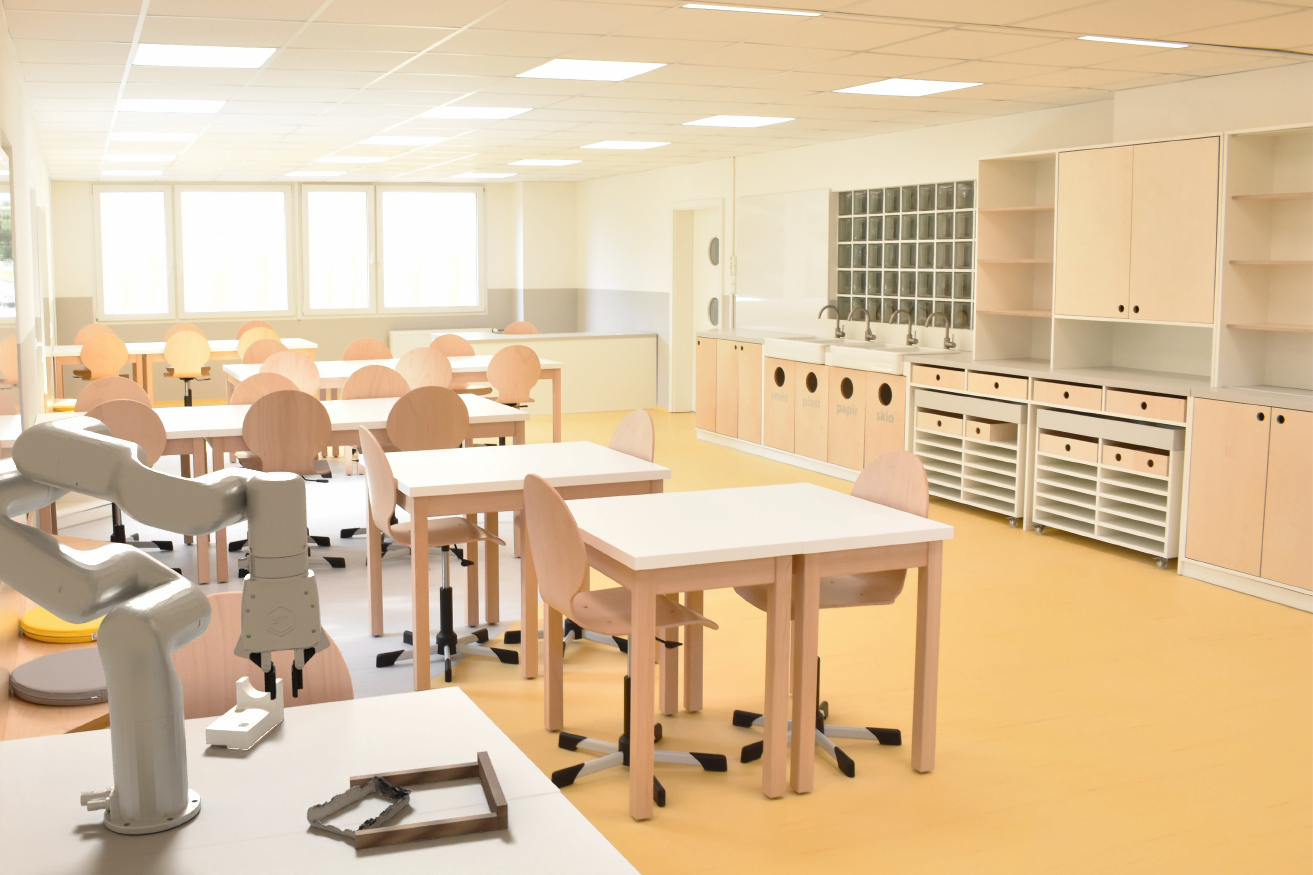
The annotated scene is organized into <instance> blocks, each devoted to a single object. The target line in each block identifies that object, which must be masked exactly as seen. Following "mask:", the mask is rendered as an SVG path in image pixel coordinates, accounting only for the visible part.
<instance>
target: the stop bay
mask: <svg viewBox="0 0 1313 875" xmlns="http://www.w3.org/2000/svg"><path fill="white" fill-rule="evenodd" d="M476 753H477V755H476V756H477V757H476V760H477V761H471V762H464V763H463V762H462V763H454V764H453V763H452V764H446V765H445V764H444V765H438V766H429V767H421V768H412V769H405V770H404V769H403V770H394V771H388V772H387V771H385V772H379V773H369V774H364V775H363V774H362V775H361V774H360V775H353V776H349V789H350V788H351V787H353V786H360V788H364V787H365V786H366V785H367V782H368V781H369V782H370V781H371V780H372V779H373V777H374V776H379V777H383V778H384V779H385V780H386V781H388V782H389V784H390V785H396V786H400V787H402V788H404V787H410V786H417V785H418V786H419V785H425V784H426V785H427V784H434V783H441V782H449V781H450V782H451V781H457V780H467V779H475V778H478V779H479V782H480V785H481V788H482V790H483V793H484V796H485V799H486V802H487V805H488V807H489V811H490V812H488V813H482V814H481V813H480V814H474V815H467V816H465V815H464V816H459V817H458V816H457V817H453V818H443V819H436V820H435V819H434V820H429V821H428V820H427V821H422V822H421V821H420V822H413V823H405V824H398V825H392V826H391V825H390V826H384V827H376V828H374V829H367V830H359V831H357V830H354V831H355V839H354V842H355V843H354V845H355V850H360V849H368V848H376V847H382V846H383V847H384V846H389V845H397V844H405V843H410V842H412V841H413V842H419V841H427V840H433V839H432V838H434V839H440V837H442V838H447V837H454V836H455V837H456V836H463V835H470V834H476V833H483V832H484V833H485V832H493V831H499V830H505V829H506V830H507V829H508V828H509V808H508V807H509V805H508V802H507V799H506V797H505V794H504V792H503V789H502V786H501V783H500V781H499V778H498V776H497V774H496V770H495V769H494V766H493V765H494V764H493V763H492V761H491V758H490V755H489V752H488V751H487V750H485V751H484V750H483V751H477V752H476Z"/></svg>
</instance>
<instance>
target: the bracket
mask: <svg viewBox="0 0 1313 875" xmlns="http://www.w3.org/2000/svg"><path fill="white" fill-rule="evenodd" d="M283 682H284V680H283V678H277V677H276V699H275V700H271V699H270V692H266V693H265V691H259V690H257V689H255V687H254V686H252V684H251V682H250V678H249V676H242V677H240V678H239V679H238V680H237V681H236V682H235V689H236V690H235V691H236V692H235V694H236V705H235V706H233V707H231V709H229V710H228V711H227V712H225V713H224V714H223V715H221V716H220V717H218V718H217V719H216V720H215V721H214V722H212V723H211V724H210V725H209V726H207V727H206V728H205V744H206V745H215V746H226V749H227V748H239V749H248V748H249V747H250V746H252V745H253V744H254V743H255V742H256V741H257V740H258V739H259V738H260V737H261V736H263V735H264V734H265V733H266V732H267V731H269V730H270V729H271V728H272V727H274V726H275V725H276V724H278V723H279V722H280V721H281V720H283V719H284V720H285V708H284V707H285V706H284V686H283V685H284V683H283ZM284 720H283V721H284ZM279 724H280V723H279ZM279 724H278V725H279Z"/></svg>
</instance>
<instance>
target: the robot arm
mask: <svg viewBox="0 0 1313 875" xmlns="http://www.w3.org/2000/svg"><path fill="white" fill-rule="evenodd" d="M148 460H149V459H148V455H147V453H146V451H145V449H144V448H143V447H142V446H141V445H140V444H138V443H136V442H134V441H133V442H132V441H129V440H124V439H122V438H117V437H115V435H114V433H113V431H112V430H111V429H110V428H109V427H108V425H106V424H105V423H104V422H103V421H101V420H99V419H97V418H94V417H92V416H91V417H90V416H82V415H79V416H72V417H66V418H61V419H60V418H59V419H55V420H50V421H49V420H48V421H45V422H44V421H43V422H40V423H38V424H34V425H32V426H30V427H29V428H28V427H27V429H25V430H24V431H23V432H21V433H20V434H19V435H18V436H17V438H16V439H15V441H14V443H13V445H12V450H11V456H8V457H4V458H0V581H1V582H3V583H5V584H6V585H8V586H10V587H11V588H12V589H13V590H14V591H16V592H18V593H19V594H21V595H22V596H24V597H26V598H27V599H29V600H30V601H32V602H33V603H35V604H37V605H38V606H39V607H41V608H43V609H44V610H45V611H47V612H49V613H50V614H52V615H53V616H55V617H56V618H58V619H60V620H61V621H64V622H66V623H69V624H74V625H81V624H87V623H89V622H93V621H95V620H97V619H99V618H102V617H103V619H102V620H101V622H100V624H99V626H98V629H97V635H96V644H97V651H98V652H97V653H98V654H99V659H100V661H101V665H102V669H103V672H104V677H105V682H106V689H107V700H108V714H109V715H108V716H109V726H110V728H109V729H110V742H111V743H110V744H111V745H110V746H111V758H112V774H113V785H112V786H107V787H106V788H105V790H90V791H89V790H88V791H82V792H80V793H81V794H80V806H81V807H86V810H87V811H86V812H95V811H99V810H105V811H104V813H103V823H104V826H105V827H106V828H107V829H108V830H110V831H112V832H115V833H119V834H125V835H143V834H144V835H147V834H153V833H160V832H162V831H166V830H170V829H172V828H175V827H178V826H180V825H182V824H185V823H186V822H188V821H190V820H191V819H192V818H193V817H195V816H196V815H198V812H200V810H201V808H202V807H201V806H202V803H201V802H202V799H201V796H200V794H199V793H198V792H196V791H195V790H193V789H190V788H189V781H188V779H189V778H188V776H189V775H188V761H187V758H188V757H187V742H186V741H187V740H186V724H185V723H186V722H185V720H186V719H185V705H184V704H185V703H184V690H183V684H182V680H181V678H180V676H179V675H180V674H179V673H178V671H177V669H176V668H175V665H174V662H173V655H174V654H176V653H177V652H178V651H180V650H181V649H183V648H185V647H187V646H189V645H190V644H191V643H193V642H195V641H197V640H198V639H199V638H201V637H202V636H203V635H204V634H205V633H206V631H207V630H208V628H209V627H210V626H211V622H212V619H213V612H212V611H213V610H212V606H211V603H210V600H209V599H208V597H207V595H206V594H205V593H204V591H203V590H202V589H201V588H200V587H199V586H198V585H196V584H195V583H194V582H193V581H191V580H190V579H188V578H186V577H185V576H184V575H183V574H180V573H179V572H177V571H176V570H174V569H173V568H171V567H169V566H168V565H166V564H164V563H163V562H161V561H160V560H158V559H157V558H155V557H154V556H152V555H150V554H149V553H148V552H146V551H144V550H142V549H141V548H138V547H136V546H133V545H131V544H128V543H121V542H111V543H110V542H109V543H105V544H101V545H98V546H94V547H91V548H90V549H87V550H79V549H76V548H73V547H71V546H70V545H68V544H66V543H64V542H62V541H60V540H59V539H57V538H56V537H55V536H53V535H52V534H50V533H49V532H46V531H44V530H42V529H39V528H38V527H34V526H31V525H28V524H25V523H20V522H19V521H15V520H14V519H13V518H16V517H19V516H22V515H25V514H26V515H27V514H30V513H32V512H35V511H38V510H41V509H43V508H45V507H47V506H50V505H51V504H53V503H55V502H56V501H58V500H59V499H61V498H62V497H65V496H66V495H68V494H69V493H70V492H74V493H78V494H81V495H84V496H89V497H93V498H96V499H100V500H103V501H107V502H110V503H114V504H115V505H116V507H118V508H119V510H120V511H122V512H123V513H124V514H125V515H127V516H128V517H129V518H131V519H132V520H133V521H136V522H138V523H139V524H143V525H145V526H148V527H151V528H155V529H159V530H163V531H166V532H171V533H175V534H179V535H183V536H193V537H195V536H196V537H200V536H201V537H202V536H207V535H210V534H213V533H215V532H218V531H220V530H222V529H224V528H227V527H230V526H232V525H236V524H239V523H240V524H241V523H242V522H246V521H247V538H248V541H247V542H248V554H247V555H246V557H243V558H238V559H237V569H244V570H247V572H249V573H248V574H246V575H245V577H244V578H243V584H242V591H241V600H240V601H241V603H240V608H241V609H240V622H241V623H240V632H241V633H240V634H239V637H238V639H237V641H236V644H235V646H234V648H233V655H234V656H236V657H240V658H243V659H245V660H249V661H251V662H252V663H254V664H255V665H256V666H257V667H258V668H260V669H261V672H263V677H264V678H263V680H264V692H265V693H266V692H270V699H271V700H275V699H276V679H277V674H276V673H277V672H276V665H275V664H274V662H273V661H272V652H283V651H284V652H285V651H293V653H294V655H293V656H294V659H293V660H292V664H291V667H290V668H291V669H290V670H291V671H290V672H291V691H292V692H291V694H292V698H293V699H296V698H299V690H304V678H303V676H304V674H303V669H304V667H305V665H306V664H307V663H308V662H309V661H310V660H311V659H312V658H313V657H314V655H315V654H318V653H320V652H323V651H325V650H326V649H328V648H329V647H330V646H331V641H330V638H329V636H328V635H327V633H326V631H325V629H324V627H323V626H322V619H321V608H320V607H321V606H320V597H319V588H318V585H317V579H316V575H315V573H314V571H313V570H312V569H310V568H309V550H308V549H309V548H308V546H309V544H308V541H309V540H308V515H307V513H308V512H307V492H306V489H307V488H306V482H305V480H304V478H303V477H302V476H301V475H300V474H298V473H295V472H289V471H272V472H271V471H270V472H263V471H258V470H254V469H248V468H245V467H244V468H243V467H237V466H235V467H234V466H232V467H226V468H222V469H219V470H216V471H215V470H214V471H211V472H208V473H205V474H203V475H199V476H196V477H194V478H193V477H192V478H188V477H183V476H179V475H173V474H170V473H165V472H162V471H159V470H156V469H153V468H149V461H148Z"/></svg>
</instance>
